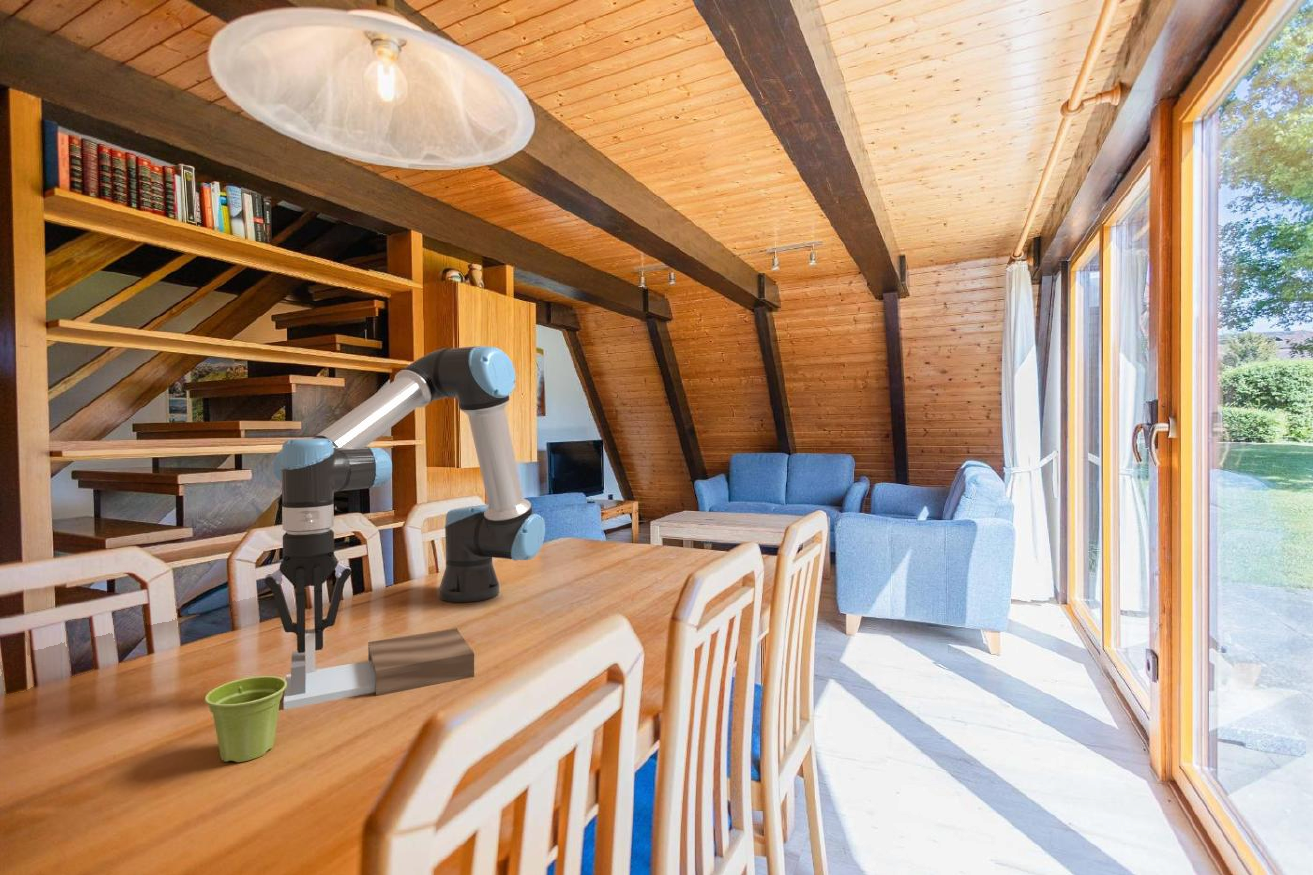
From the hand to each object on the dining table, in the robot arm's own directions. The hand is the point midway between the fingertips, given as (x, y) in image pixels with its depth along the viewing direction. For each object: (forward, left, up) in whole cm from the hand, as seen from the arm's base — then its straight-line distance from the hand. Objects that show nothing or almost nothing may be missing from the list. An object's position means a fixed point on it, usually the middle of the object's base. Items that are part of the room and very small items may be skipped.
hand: (310, 669), depth 105 cm
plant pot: (+18, -8, -4) cm, 20 cm away
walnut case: (0, +17, -4) cm, 18 cm away
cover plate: (0, +8, -4) cm, 9 cm away
